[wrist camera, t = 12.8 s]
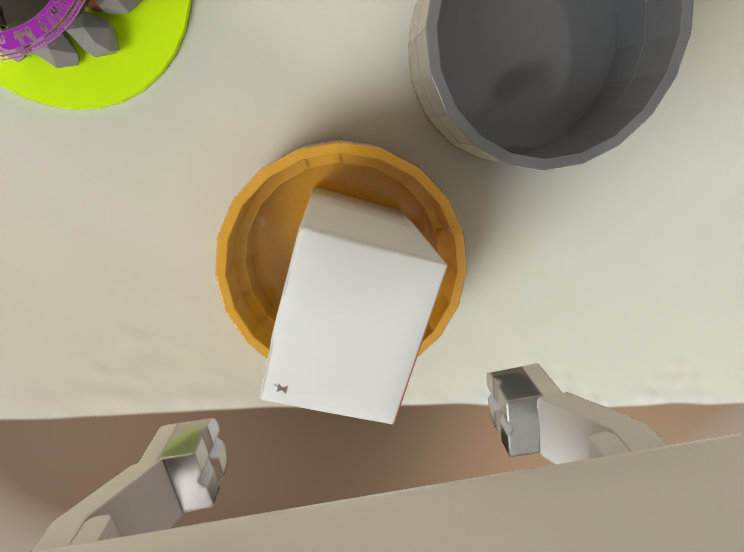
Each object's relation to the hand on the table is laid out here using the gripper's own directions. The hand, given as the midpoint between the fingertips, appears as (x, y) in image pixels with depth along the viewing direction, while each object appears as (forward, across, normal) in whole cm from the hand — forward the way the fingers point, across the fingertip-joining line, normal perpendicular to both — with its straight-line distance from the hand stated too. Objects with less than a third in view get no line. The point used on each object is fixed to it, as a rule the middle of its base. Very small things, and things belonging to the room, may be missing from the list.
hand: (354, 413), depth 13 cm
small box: (+19, 0, 0) cm, 19 cm away
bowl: (+19, 0, 0) cm, 19 cm away
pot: (+19, -12, -11) cm, 25 cm away
